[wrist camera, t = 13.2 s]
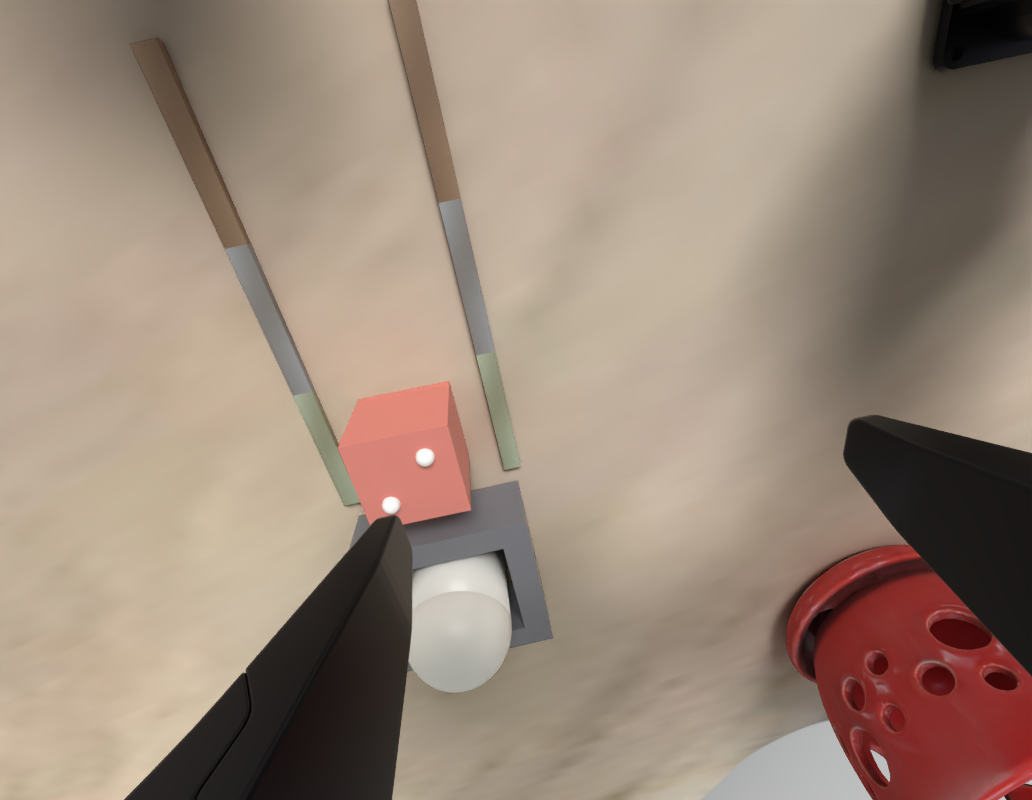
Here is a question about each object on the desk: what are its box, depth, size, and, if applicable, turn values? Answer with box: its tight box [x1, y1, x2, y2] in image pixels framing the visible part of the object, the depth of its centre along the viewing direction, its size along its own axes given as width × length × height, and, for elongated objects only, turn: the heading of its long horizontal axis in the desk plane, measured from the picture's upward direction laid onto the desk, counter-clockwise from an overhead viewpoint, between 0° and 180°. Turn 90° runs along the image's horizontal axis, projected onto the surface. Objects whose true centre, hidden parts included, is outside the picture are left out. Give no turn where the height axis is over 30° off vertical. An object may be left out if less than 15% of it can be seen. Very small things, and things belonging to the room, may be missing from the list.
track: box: [130, 0, 521, 506], centre depth 18 cm, size 9×18×1 cm, turn 11°
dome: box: [409, 549, 512, 693], centre depth 21 cm, size 5×5×6 cm
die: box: [338, 381, 471, 525], centre depth 19 cm, size 4×4×4 cm
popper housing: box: [350, 481, 553, 672], centre depth 23 cm, size 8×8×3 cm
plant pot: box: [786, 545, 1032, 800], centre depth 25 cm, size 13×13×12 cm
